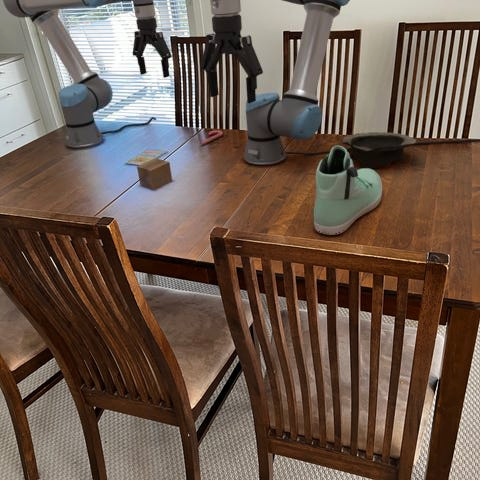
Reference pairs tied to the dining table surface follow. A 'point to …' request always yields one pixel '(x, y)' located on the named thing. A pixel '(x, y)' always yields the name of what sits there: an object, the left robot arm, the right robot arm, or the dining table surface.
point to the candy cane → (219, 133)
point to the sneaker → (343, 192)
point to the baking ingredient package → (145, 157)
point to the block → (154, 174)
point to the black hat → (378, 147)
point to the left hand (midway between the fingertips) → (154, 75)
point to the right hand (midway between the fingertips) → (232, 98)
